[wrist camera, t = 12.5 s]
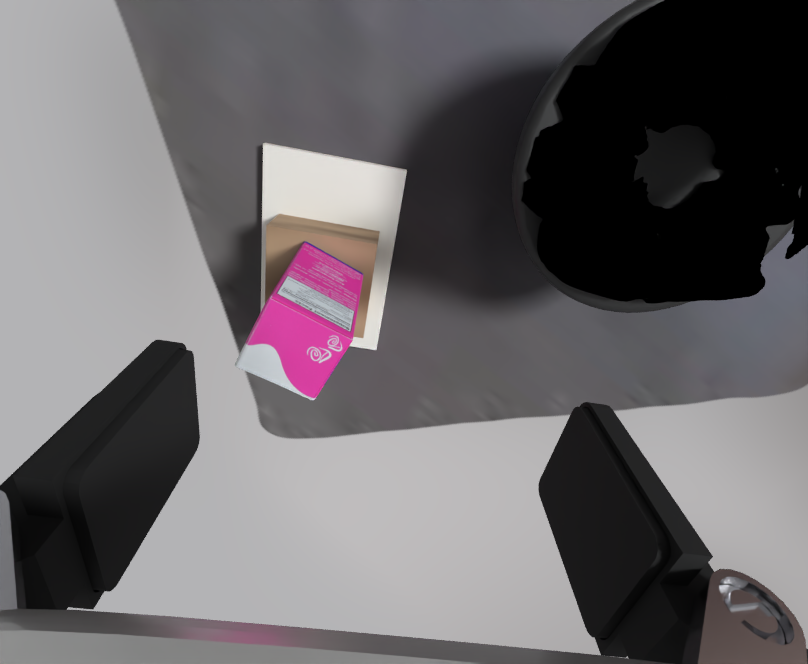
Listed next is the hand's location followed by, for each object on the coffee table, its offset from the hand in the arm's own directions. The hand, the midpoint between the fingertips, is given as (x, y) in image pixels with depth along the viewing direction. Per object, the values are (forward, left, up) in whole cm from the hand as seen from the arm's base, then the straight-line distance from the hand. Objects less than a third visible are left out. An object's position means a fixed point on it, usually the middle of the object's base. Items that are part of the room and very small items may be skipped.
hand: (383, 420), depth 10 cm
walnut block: (+8, -5, -30) cm, 31 cm away
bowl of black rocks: (-6, +17, -31) cm, 35 cm away
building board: (+7, -5, -30) cm, 32 cm away
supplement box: (+8, -5, -26) cm, 27 cm away
